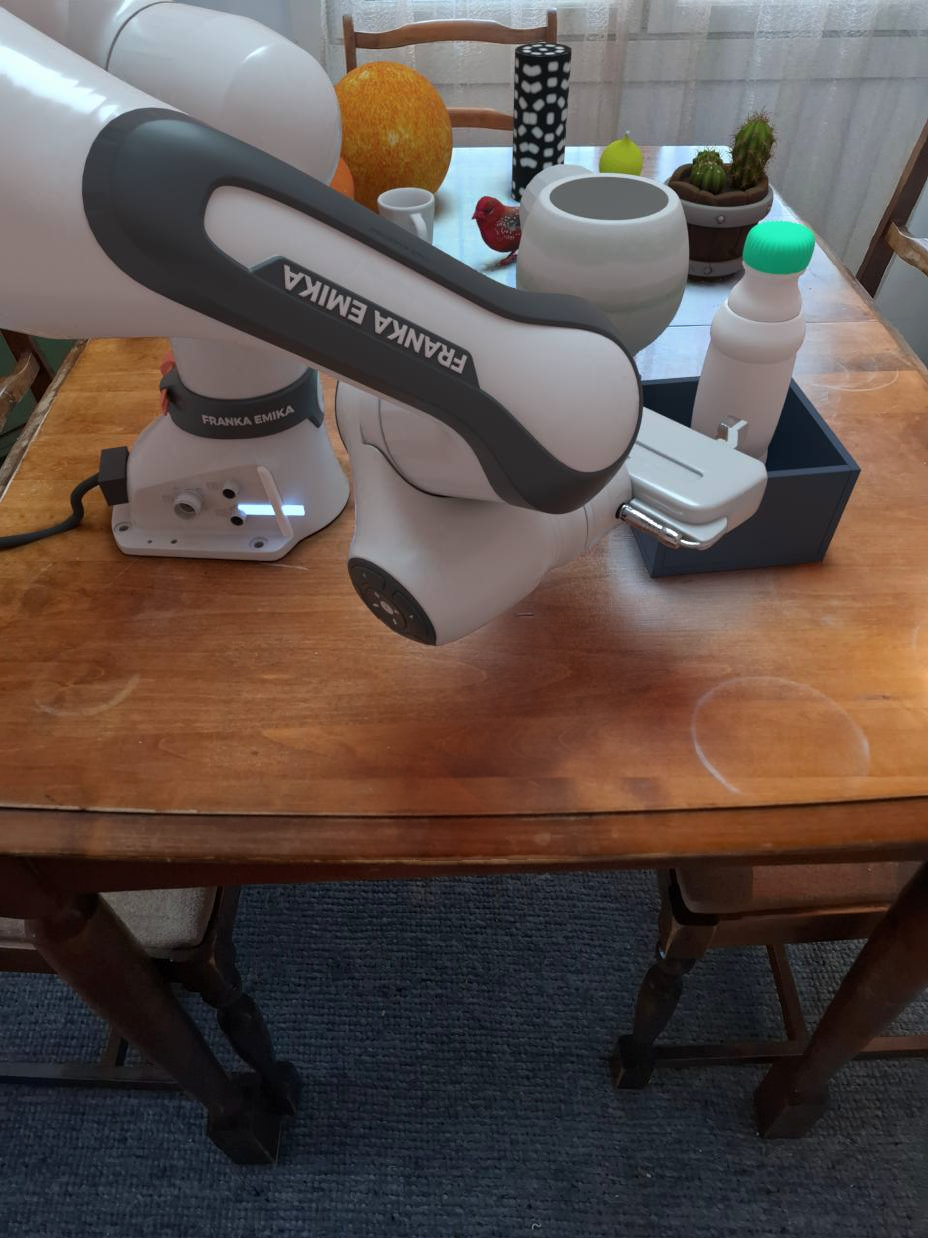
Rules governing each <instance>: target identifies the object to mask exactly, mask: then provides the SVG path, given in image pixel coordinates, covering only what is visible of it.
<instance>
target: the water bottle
mask: <svg viewBox="0 0 928 1238" xmlns="http://www.w3.org/2000/svg"><path fill="white" fill-rule="evenodd" d="M814 234H815V233H814V232H813V230H811V229H810V228H809V227H808V226H806V225H804V224H801V223H798V222H792V221H787V220H778V219H777V220H767V221H763V222H759V223H758V225H756V226H754V227H753V228H752V229H751V230H750V232H749V233H748V236H747V238H746V242H745V245H744V249H743V262H742V265H743V269H744V270H745V271H744V274H743V277H742V278H741V279H740V280H739V281H738V282H737V283H736V284H735V285H734V286H733V288H732V289H731V290H730V293H729V295H728V296H727V297H726V299H724V301H723V302H722V303H721V304H720V306H719V307H718V308H717V310H716V312H715V313H714V315H713V317H712V320H711V323H710V328H709V336H710V341H709V344H708V347H707V350H706V352H705V356H704V360H703V364H702V367H701V372H700V375H699V376H700V379H699V384H698V388H697V393H696V398H695V403H694V409H693V415H692V422H691V429H692V430H695V431H697V432H699V433H701V434H703V435H705V436H707V437H710V438H712V439H714V440H715V437H716V436H717V435H718V432H717V429H718V425H719V423H720V422H721V421H722V420H724V419H727V417H728V416H729V415H731V416H734V417H736V418H739V419H741V420H744V421H746V422H748V423H749V427H748V431H747V434H746V437H745V439H744V441H743V442H742V444H740V445H739V446H738V447H737V449H736V450H737V451H740V452H742V453H744V454H746V455H748V456H750V457H753V458H755V459H757V460H759V461H761V462H762V463H763V464H764V465H765V463H766V459H767V452H768V446H769V444H770V441H771V439H772V437H773V434H774V432H775V429H776V426H777V423H778V420H779V418H780V415H781V411H782V408H783V405H784V402H785V399H786V395H787V392H788V388H789V385H790V381H791V377H792V378H793V374H794V369H795V364H796V360H797V354H798V352H799V350H800V349H801V347H802V345H803V343H804V340H805V338H806V332H807V323H806V317H805V311H804V308H803V297H802V292H801V290H800V288H799V279H800V277H801V276H802V275H804V274H806V271H807V268H808V266H809V265H810V263H811V260H812V258H813V254H814V252H815V247H816V236H815V235H814Z"/></svg>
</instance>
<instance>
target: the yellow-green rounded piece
mask: <svg viewBox="0 0 928 1238" xmlns="http://www.w3.org/2000/svg"><path fill="white" fill-rule="evenodd" d="M630 135H631V131H630V130H626V131H625V135H624V137H622V139H618V140H614V141H613V142H611V143H609V144H608V145H607V146H606V147H605V148H604V150H603V151H602V153H601V154H600V157H599V162H598V173H619V174H628V175H635V176H640V177H641V175H642V171H643V167H644V158H643V153H642V151H641V149H640V147H639V146H638V145H637V144H636V143H635V142H633V141H632V140H631V139H630Z"/></svg>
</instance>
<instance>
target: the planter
mask: <svg viewBox="0 0 928 1238" xmlns="http://www.w3.org/2000/svg"><path fill="white" fill-rule="evenodd" d="M517 254H518V256H516V265H515V289H519V290H523V291H528V292H536V293H558V294H569V295H574V296H578V297H581V298H583V299H586V300H588V301H590V302H591V303H593V304H594V305H595V306H597V307H598V308H599V309H600V310H601V311H602V312H603V313H604V314H605V315H606V316H607V317H608V319H609V320H610V321H611V322H612V323H613V325H614V326H615V327H616V329H617V330H618V331H619V333H620V334H621V336H622V337H623V339H624V341H625V342H626V344H627V346H628V348H629V350H630V351H631V353H632V356H633V357H635V356H636V355H638V354H639V353H640V352H641V351H643V350H644V349H646V348H647V347H648V346H649V347H650V345H651V344H652V343H654V342H655V341H656V340H657V339H658V338H659V337H660V336H662V334H663V333H664V331H666V330H667V328H668V327H669V326H670V325H671V323H672V322H673V320H674V319H675V318H676V316H677V313H678V311H679V309H680V307H681V304H682V302H683V298H684V295H685V292H686V287H687V283H688V279H687V276H688V267H689V240H688V230H687V224H686V218H685V214H684V210H683V207H682V204H681V201H680V199H679V197H678V195H677V194H676V193H675V192H674V191H673V190H672V189H671V188H670V187H668V186H666V185H664V184H663V183H662V182H660V181H657V180H654V179H652V178H648V177H644V176H641V175H640V176H635V175H628V174H619V173H599V172H594V173H591V174H581V175H575V176H570V177H566V178H563V179H560V180H557V181H555V182H552V183H551V184H549V185H547V186H546V187H545V188H544V189H543V190H542V191H541V192H540V194H539V195H538V197H537V198H536V200H535V202H534V204H533V206H532V208H531V211H530V213H529V215H528V218H527V220H526V223H525V226H524V229H523V233H522V237H521V241H520V245H519V249H518V250H517Z"/></svg>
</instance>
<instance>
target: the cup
mask: <svg viewBox="0 0 928 1238" xmlns="http://www.w3.org/2000/svg"><path fill="white" fill-rule="evenodd" d="M377 203H378V208H379V215H380V216H382V217H384V218H386V219H387V220H389V221H391V222H393V223H394V224H396V225H398V226H399V227H401V228H403V229H405V230H406V231H408V232H410V233H412V234H413V235H415V236H417V237H419V238H420V239H422V240H424V241H426V242H427V243H429V244H431V245H433V244H434V243H433V242H434V221H435V206H436V205H435V204H436V198H435V195H433V194H432V193H430V192H429V191H426V190H423V189H419V188H398V189H393V190H389V191H387V192H384V193H383V194H381V195H380V196H379V198H378V201H377Z"/></svg>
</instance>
